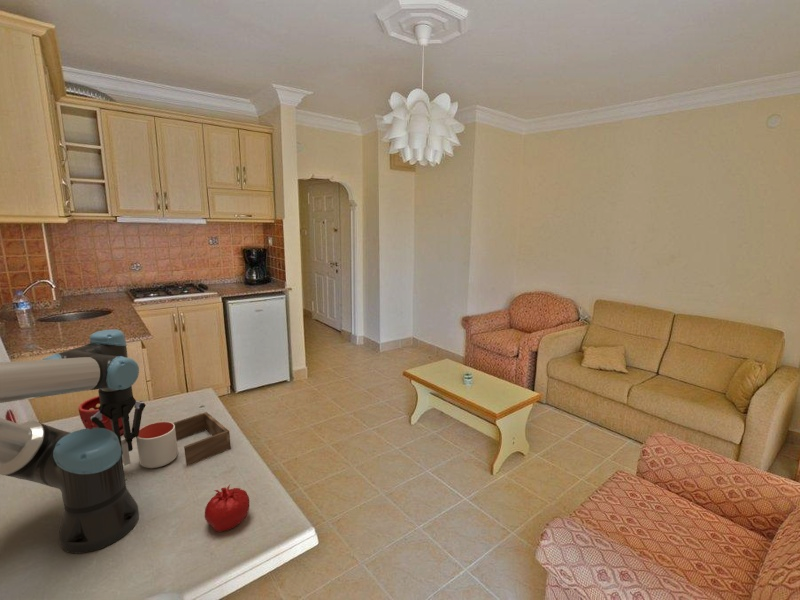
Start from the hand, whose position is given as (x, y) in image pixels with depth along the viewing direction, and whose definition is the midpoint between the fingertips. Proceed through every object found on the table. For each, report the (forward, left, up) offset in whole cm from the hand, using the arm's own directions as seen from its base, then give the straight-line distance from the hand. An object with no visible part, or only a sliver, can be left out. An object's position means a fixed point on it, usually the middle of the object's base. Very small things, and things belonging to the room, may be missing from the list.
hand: (126, 462), depth 117 cm
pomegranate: (-39, -12, -3) cm, 41 cm away
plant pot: (+29, -1, -3) cm, 29 cm away
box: (0, -20, -3) cm, 20 cm away
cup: (0, -8, -3) cm, 9 cm away
